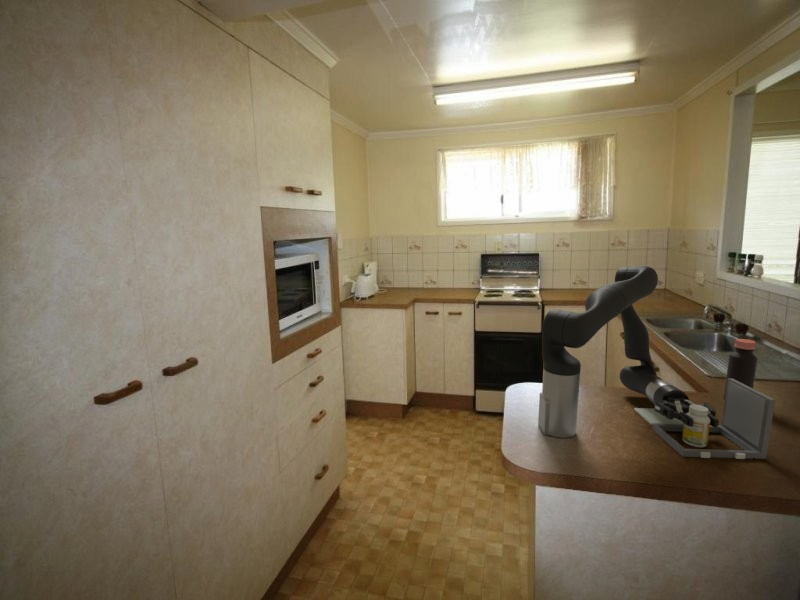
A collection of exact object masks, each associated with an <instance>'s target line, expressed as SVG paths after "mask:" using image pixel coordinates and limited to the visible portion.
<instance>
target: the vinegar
mask: <svg viewBox="0 0 800 600" xmlns="http://www.w3.org/2000/svg"><path fill="white" fill-rule="evenodd" d="M756 344H757V343H756V341H754V340H752V339H746V338H736V339H735V341H734V350H733V352H731V353H729V354H728V362H727V370H726V377H725V378H726V379H725V384H724V385H725V386H724V391H723V393H724V394H723V400H724V401H725V395H726V387H727V380H728V378H733V379H735V380H737V381H739V382H741V383H743V384H745V385H747V386H749V387H751V388H753V389H754V387H755V385H754V384H755V380H756V379H755V377H756V370H757V364H758V358H757V356H756V355H755V354H754V351H755V349H756Z"/></svg>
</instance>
